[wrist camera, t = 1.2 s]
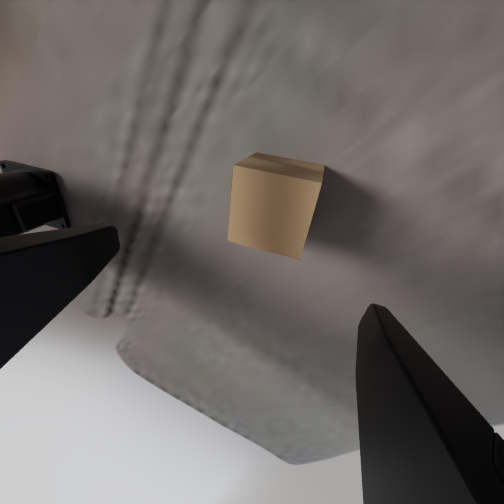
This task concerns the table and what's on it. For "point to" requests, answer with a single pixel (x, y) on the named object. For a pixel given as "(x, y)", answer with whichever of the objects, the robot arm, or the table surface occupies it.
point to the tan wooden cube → (273, 203)
